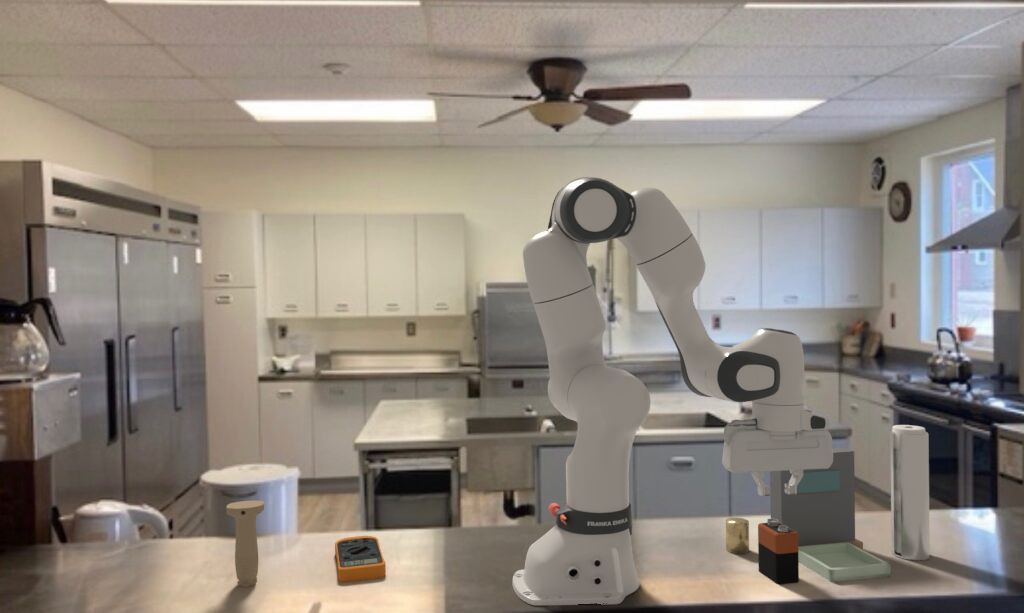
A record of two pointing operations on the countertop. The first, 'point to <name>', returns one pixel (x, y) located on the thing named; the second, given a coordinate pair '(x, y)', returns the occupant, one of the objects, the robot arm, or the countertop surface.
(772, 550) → the battery
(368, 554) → the multimeter
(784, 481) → the control unit
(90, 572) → the countertop surface
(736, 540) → the yellow translucent cylinder
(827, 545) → the tray
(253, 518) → the handle
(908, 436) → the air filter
